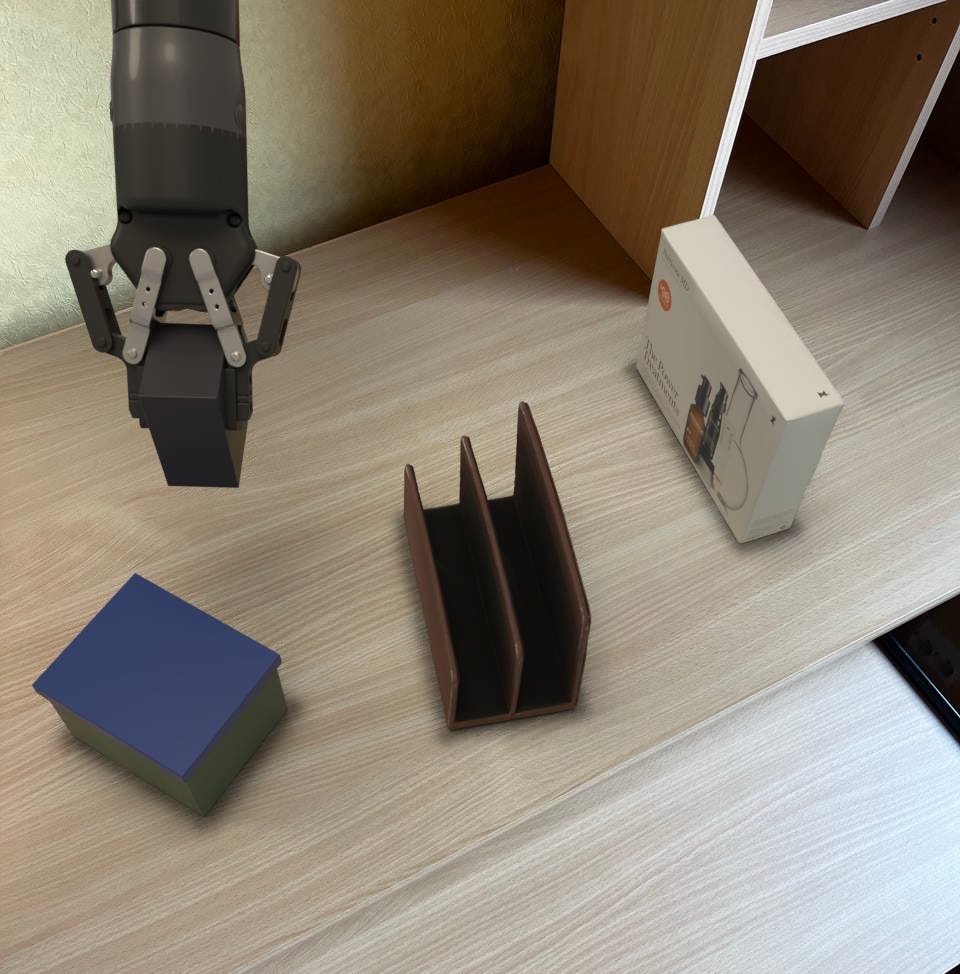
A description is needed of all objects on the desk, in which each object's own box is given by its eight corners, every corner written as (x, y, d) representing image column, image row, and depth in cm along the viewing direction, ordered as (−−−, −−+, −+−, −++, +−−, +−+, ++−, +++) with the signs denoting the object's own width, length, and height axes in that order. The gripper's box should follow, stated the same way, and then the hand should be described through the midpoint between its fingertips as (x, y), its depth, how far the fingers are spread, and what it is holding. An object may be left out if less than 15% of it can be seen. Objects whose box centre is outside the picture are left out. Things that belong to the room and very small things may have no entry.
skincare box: (628, 369, 100) (659, 225, 86) (681, 355, 101) (720, 210, 87) (734, 548, 90) (787, 418, 77) (791, 530, 92) (855, 399, 78)
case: (167, 486, 71) (137, 396, 64) (180, 416, 74) (153, 321, 67) (238, 488, 71) (217, 398, 64) (248, 417, 74) (229, 324, 67)
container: (66, 737, 80) (30, 685, 73) (159, 630, 84) (134, 572, 77) (205, 823, 77) (182, 777, 70) (293, 708, 82) (280, 654, 74)
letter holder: (519, 502, 92) (533, 384, 80) (577, 710, 82) (603, 612, 70) (402, 519, 91) (397, 401, 78) (447, 733, 81) (450, 637, 69)
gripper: (312, 145, 67) (315, 427, 72) (77, 136, 67) (94, 421, 71) (295, 121, 60) (299, 436, 64) (31, 111, 60) (54, 430, 64)
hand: (191, 427), depth 68 cm, fingers closed on case, 4 cm apart
